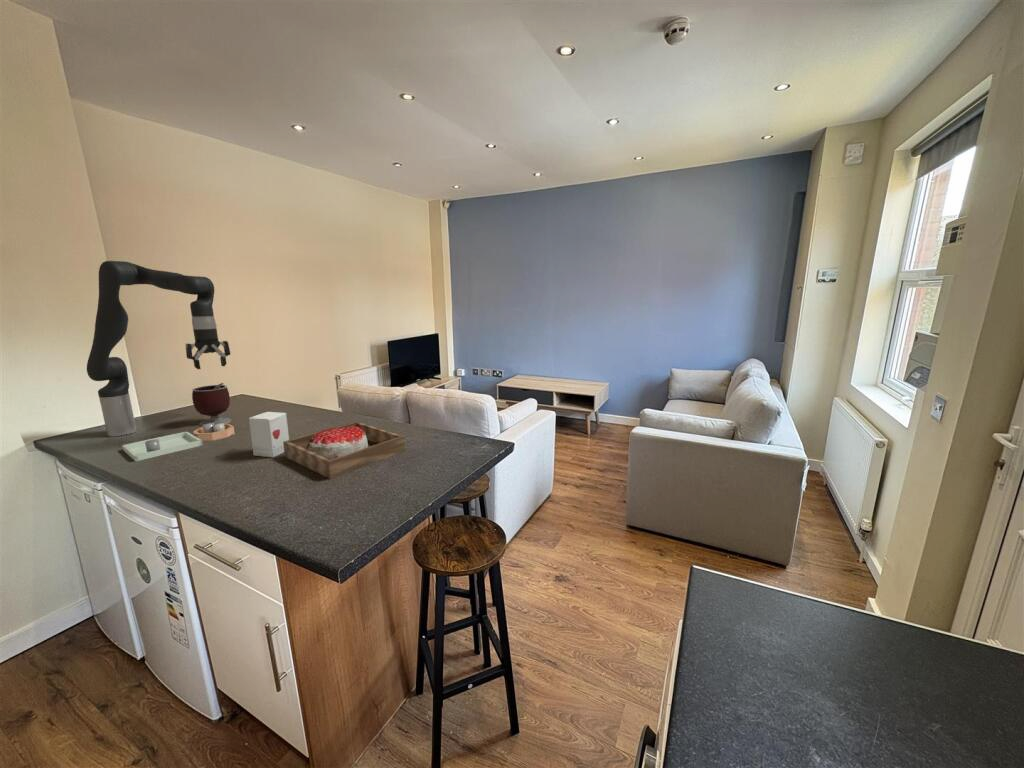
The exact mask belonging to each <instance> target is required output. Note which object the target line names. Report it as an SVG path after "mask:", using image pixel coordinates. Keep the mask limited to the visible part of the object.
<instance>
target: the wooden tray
mask: <svg viewBox="0 0 1024 768" xmlns="http://www.w3.org/2000/svg"><path fill="white" fill-rule="evenodd" d="M347 426H356V427H359V428H361V429H362V430H363V431H364V432H365V435H366V437H367V441H369V442H372V443H376V444H373V445H370V446H368V447H367V448H364V449H361V450H358V451H355V452H352V453H350V454H347V455H344V456H341V457H338V458H335V459H332V460H329V459H327V458H325V457H322V456H320V455H318V454H316V453H313V452H311V451H309V450H307V449H306V447H307V444H308V442H309V440H310V439H311V438H312V437H313V436H314V435H315V434H316V433H317V432H313V433H310V434H306V435H303V436H300V437H299V436H298V437H295V438H291V439H289V440H287V441H284V442H283V445H284V452H283V453H284V457H285V458H286V459H289V460H290V461H293V462H295V463H297V464H299V465H301V466H303V467H305V468H307V469H309V470H311V471H313V472H315V473H318V474H319V475H322V476H323V477H325V478H328V479H329V480H332V479H335V478H337V477H339V476H342V475H345V474H349V473H350V472H353V471H355V470H359V469H361V468H363V467H366V466H369V465H372V464H375V463H377V462H381V461H382V460H385V459H388V458H391V457H393V456H395V455H398V454H401V453H403V452H406V444H405V436H404V435H401V434H398V433H394V432H392V431H388V430H384V429H381V428H379V427H375V426H372V425H368V424H366V423H362V422H360V421H359V422H358V421H354V422H351V423H347V424H343V425H340V426H339V425H338V426H335V427H334V428H342V427H347Z"/></svg>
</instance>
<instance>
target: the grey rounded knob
mask: <svg viewBox="0 0 1024 768" xmlns="http://www.w3.org/2000/svg"><path fill="white" fill-rule="evenodd" d="M148 440H149V439H148ZM145 445H146V450H147V452H151V451H156V450H160V444H159V440H149V441H146V442H145Z"/></svg>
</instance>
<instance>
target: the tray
mask: <svg viewBox="0 0 1024 768" xmlns="http://www.w3.org/2000/svg"><path fill="white" fill-rule="evenodd" d="M149 440H159V444H160V450H156V451H151V452H147V450H146V445H145V442H146V441H149ZM121 446H122V451H123V452H125V453H126V455H128V456H129V457H130V458H131V459H132V460H133V461H134V462H138V461H144V460H148V459H151V458H155V457H156V458H157V457H160V456H163V455H168V454H172V453H176V452H180V451H184V450H189V449H193V448H197V447H201V446H204V444H203V441H202V440H201V439H199V438H197V437H196V436H194V435H193V433H190V432H188V431H183V432H178V433H173V434H169V435H163V436H158V437H154V438H149V439H145V440H141V441H135V442H131V443H127V444H126V443H125V444H123V445H121Z"/></svg>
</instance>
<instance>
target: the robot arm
mask: <svg viewBox="0 0 1024 768" xmlns="http://www.w3.org/2000/svg"><path fill="white" fill-rule="evenodd" d="M135 285H151V286H154V287H157V288H158V289H161V290H162V289H163V290H166V291H167V290H168V291H173V292H179V293H182V294H186V295H187V294H188V295H195V296H196V295H197V297H196V300H194V301H191V302H190V305H189V306H190V313H191V324H192V332H193V337H194V343H185V352H186V353H185V354H186V358H187V359H189V360H192V362H193V365H194V368H196V369H197V370H201V364H200V360H199V359H200V357H201V356H202V355H203V354H209V353H212V354H213V353H216V354H218V356H220V357H219V358H220V359H219V360H220V364H221V365H220V366H221V367H226V365H227V359H226V358H227V357H228V356H230V355H231V349H230V345H229V341H227V340H222V341H220V340H219V337H218V328H217V324H216V319H215V316H214V308H213V303H214V297H215V285H214V283H213V282H212V279H210V278H208V277H206V276H199V275H197V276H195V275H187V274H186V275H185V274H182V273H178V272H173V271H165V270H157V269H151V268H147V267H145V266H141V265H139V264H134V263H132V262H129V261H122V260H121V261H119V260H118V261H117V260H105V261H103V262H102V263H101V264H100V266H99V268H98V299H97V300H98V301H97V309H96V310H97V311H96V314H95V322H94V323H95V324H94V333H93V339H92V345H91V348H90V349H91V350H90V352H89V355H88V359H87V362H86V373H87V376H88V377H89V379H91V380H92V381H94V382H104V381H108V383H106V385H104V386H103V387H101V388H100V389H98V391H97V394H98V398H99V404H100V408H101V412H102V417H103V420H104V421H103V422H104V426H105V429H106V434H107V435H106V436H108V437H120V436H121V435H122V436H126V434H127V435H130V433H131V434H133V433H135V432H137V431H138V430H137V426H136V420H135V417H134V416H135V415H134V412H133V407H132V403H131V397H130V396H131V395H130V392H129V389H130V380H129V374H128V368H127V364H126V363H125V361H124V360H123V358H120V357H118V356H110V354H111V353H112V350H113V349H114V348H115V347H116V346H117V345H118V344H119V343H120V341H121V340H122V339H123V338H124V337H125V335H126V333H127V332H128V330H127V329H128V324H129V315H128V313H127V311H126V309H125V307H124V306H123V304H122V303H121V300H120V289H121V286H135ZM220 346H221V347H222V348H223V351H224V352H223V351H222V350H221V349H220V348H219V347H220ZM194 347H195V348H196V349H197V350H196V352H195V354H193V349H194ZM122 436H121V437H122Z"/></svg>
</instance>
